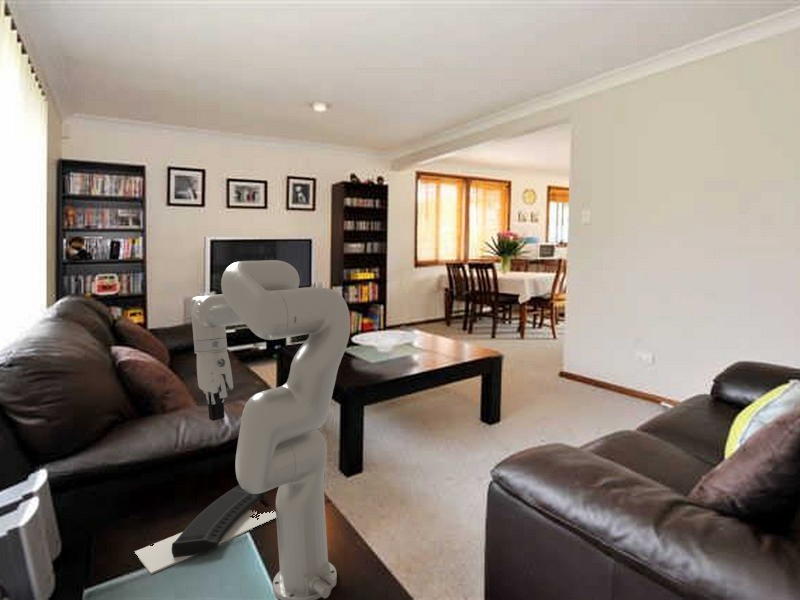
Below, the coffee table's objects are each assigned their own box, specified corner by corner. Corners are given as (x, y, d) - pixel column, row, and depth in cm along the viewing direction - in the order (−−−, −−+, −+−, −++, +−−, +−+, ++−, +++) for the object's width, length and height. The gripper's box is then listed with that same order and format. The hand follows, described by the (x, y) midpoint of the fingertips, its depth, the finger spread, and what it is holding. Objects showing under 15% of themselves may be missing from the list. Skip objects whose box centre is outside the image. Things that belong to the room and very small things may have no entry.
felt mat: (280, 516, 124) (280, 515, 124) (151, 574, 103) (150, 572, 103) (258, 502, 133) (258, 501, 133) (134, 553, 111) (134, 551, 111)
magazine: (198, 566, 104) (287, 502, 131) (197, 551, 104) (287, 490, 131) (144, 549, 112) (239, 492, 139) (143, 535, 112) (238, 481, 139)
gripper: (239, 345, 117) (246, 419, 118) (211, 341, 128) (217, 410, 129) (209, 349, 112) (216, 428, 113) (182, 346, 122) (189, 418, 123)
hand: (217, 418), depth 121 cm, fingers closed
